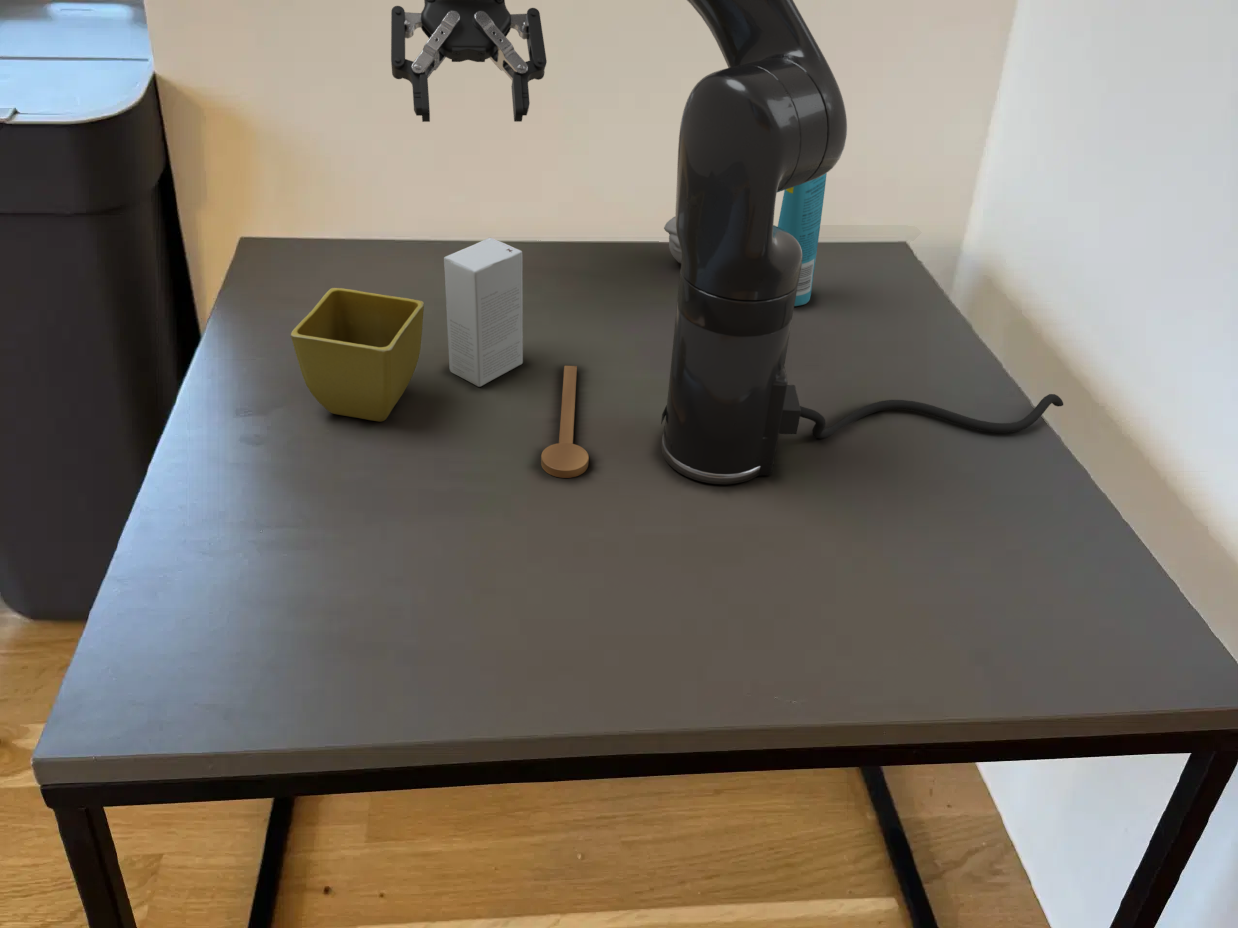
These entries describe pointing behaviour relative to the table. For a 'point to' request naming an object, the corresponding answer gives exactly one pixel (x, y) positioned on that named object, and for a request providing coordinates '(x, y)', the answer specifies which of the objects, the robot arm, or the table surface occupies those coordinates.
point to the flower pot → (359, 351)
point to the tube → (804, 227)
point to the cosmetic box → (484, 310)
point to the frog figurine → (673, 239)
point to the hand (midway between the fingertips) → (472, 118)
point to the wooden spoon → (566, 436)
